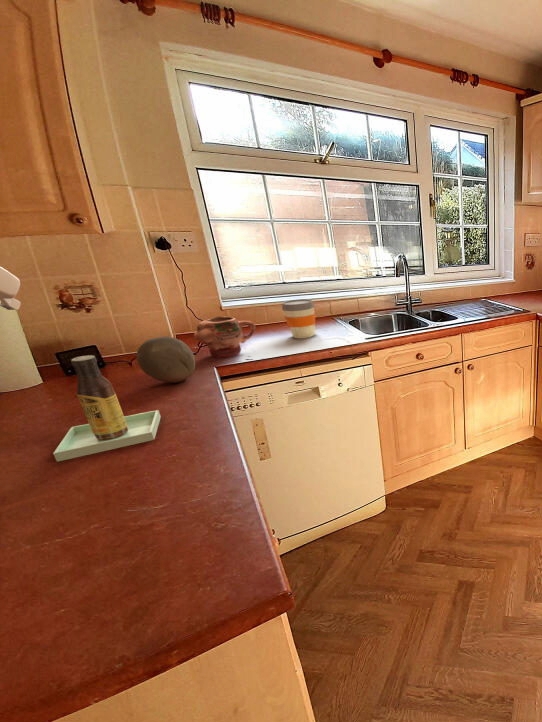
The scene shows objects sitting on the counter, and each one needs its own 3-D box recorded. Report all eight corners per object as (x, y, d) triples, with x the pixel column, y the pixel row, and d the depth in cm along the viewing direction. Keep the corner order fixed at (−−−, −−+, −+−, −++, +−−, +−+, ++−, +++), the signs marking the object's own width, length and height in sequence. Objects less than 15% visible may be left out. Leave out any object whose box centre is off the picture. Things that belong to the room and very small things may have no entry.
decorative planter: (255, 345, 175) (247, 311, 170) (264, 351, 167) (255, 316, 162) (198, 355, 163) (187, 320, 158) (204, 363, 154) (192, 325, 149)
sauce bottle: (89, 439, 101) (54, 360, 93) (118, 427, 106) (88, 352, 99) (107, 443, 99) (73, 363, 91) (136, 431, 104) (106, 354, 97)
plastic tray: (56, 461, 93) (52, 453, 92) (74, 434, 104) (71, 427, 104) (154, 439, 101) (151, 432, 100) (160, 416, 113) (158, 409, 112)
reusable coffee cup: (293, 332, 193) (286, 299, 187) (322, 330, 195) (316, 298, 189) (284, 340, 182) (276, 305, 176) (315, 338, 184) (308, 303, 178)
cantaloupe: (199, 371, 146) (186, 329, 140) (201, 383, 135) (187, 338, 130) (147, 381, 138) (131, 336, 133) (145, 394, 128) (127, 346, 122)
